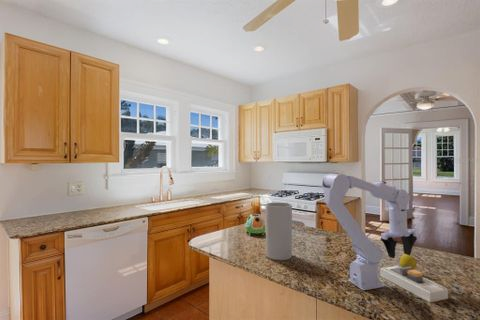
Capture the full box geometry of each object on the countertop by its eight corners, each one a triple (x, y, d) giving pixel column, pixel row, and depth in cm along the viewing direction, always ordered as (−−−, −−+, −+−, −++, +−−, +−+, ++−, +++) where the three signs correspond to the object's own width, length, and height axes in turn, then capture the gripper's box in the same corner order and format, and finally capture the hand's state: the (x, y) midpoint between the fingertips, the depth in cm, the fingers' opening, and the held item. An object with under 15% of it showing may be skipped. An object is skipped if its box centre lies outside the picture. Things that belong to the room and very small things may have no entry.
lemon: (400, 268, 109) (400, 250, 109) (416, 272, 105) (416, 253, 105) (398, 273, 105) (398, 253, 105) (415, 277, 101) (415, 257, 101)
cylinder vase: (260, 256, 123) (260, 204, 124) (275, 249, 133) (275, 201, 133) (282, 263, 115) (282, 207, 115) (296, 255, 124) (296, 204, 124)
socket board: (447, 298, 85) (447, 287, 85) (429, 302, 83) (429, 290, 83) (396, 273, 105) (396, 264, 105) (380, 275, 102) (380, 266, 102)
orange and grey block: (407, 286, 94) (407, 270, 94) (414, 285, 94) (414, 269, 94) (415, 291, 90) (415, 274, 90) (422, 290, 91) (422, 273, 91)
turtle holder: (259, 228, 175) (259, 211, 175) (267, 236, 157) (267, 216, 157) (242, 229, 172) (241, 211, 172) (248, 237, 154) (248, 217, 154)
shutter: (412, 274, 96) (412, 267, 96) (402, 276, 95) (402, 269, 95) (400, 269, 101) (400, 262, 101) (390, 270, 100) (390, 263, 100)
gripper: (391, 224, 91) (393, 262, 91) (422, 220, 95) (424, 256, 95) (376, 220, 98) (377, 255, 98) (405, 216, 102) (406, 250, 102)
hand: (399, 255), depth 97 cm, fingers open, 7 cm apart
